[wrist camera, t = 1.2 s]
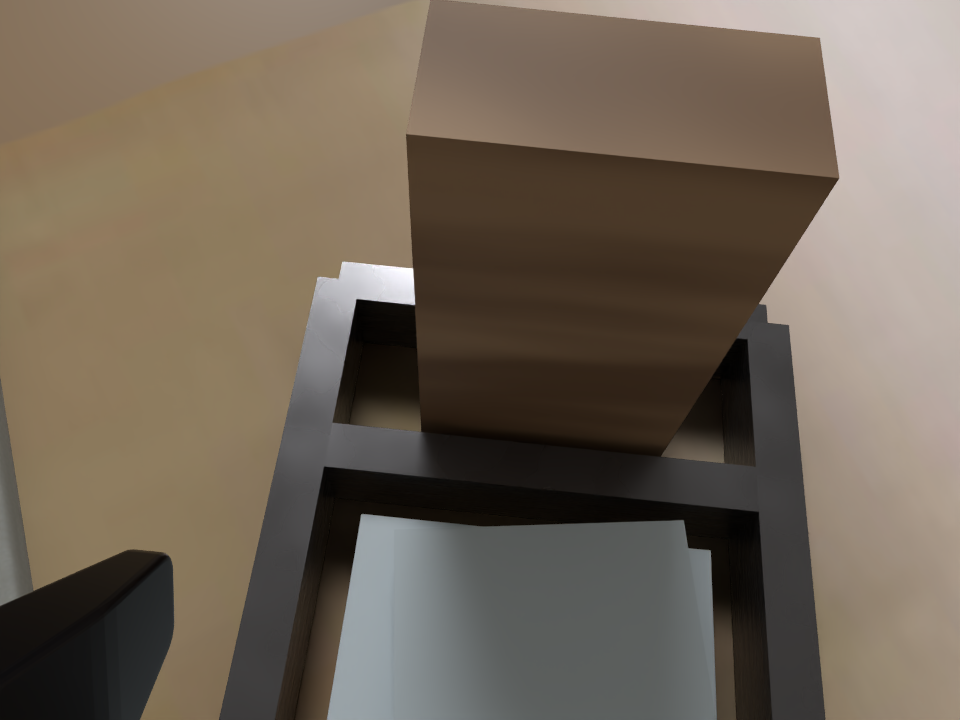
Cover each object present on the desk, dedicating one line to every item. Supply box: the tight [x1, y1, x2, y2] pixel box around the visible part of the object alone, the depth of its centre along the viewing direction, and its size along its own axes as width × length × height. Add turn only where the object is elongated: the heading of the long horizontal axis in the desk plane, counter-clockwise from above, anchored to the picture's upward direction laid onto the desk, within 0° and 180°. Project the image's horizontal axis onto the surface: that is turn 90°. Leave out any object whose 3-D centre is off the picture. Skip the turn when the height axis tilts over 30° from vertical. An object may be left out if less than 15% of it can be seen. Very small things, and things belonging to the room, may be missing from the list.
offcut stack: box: [327, 514, 717, 720], centre depth 20 cm, size 7×9×3 cm
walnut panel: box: [406, 0, 839, 457], centre depth 19 cm, size 3×6×13 cm, turn 84°
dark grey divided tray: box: [219, 262, 825, 720], centre depth 21 cm, size 16×13×2 cm
